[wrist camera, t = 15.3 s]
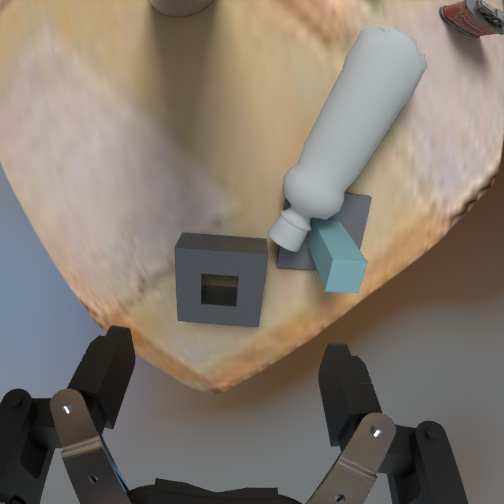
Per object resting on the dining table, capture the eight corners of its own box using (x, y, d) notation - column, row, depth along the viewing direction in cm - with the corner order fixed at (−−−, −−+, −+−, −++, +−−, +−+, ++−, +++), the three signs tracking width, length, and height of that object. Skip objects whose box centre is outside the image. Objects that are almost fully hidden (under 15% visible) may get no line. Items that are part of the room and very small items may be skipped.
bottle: (352, 14, 28) (239, 215, 40) (413, 25, 22) (278, 259, 34) (387, 53, 34) (287, 226, 46) (441, 71, 28) (326, 265, 40)
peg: (312, 218, 43) (333, 259, 32) (339, 221, 43) (367, 262, 32) (307, 244, 45) (325, 291, 34) (334, 247, 45) (358, 293, 34)
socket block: (182, 232, 45) (174, 247, 40) (266, 238, 45) (267, 254, 41) (183, 301, 50) (177, 320, 45) (257, 307, 50) (258, 327, 46)
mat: (287, 185, 42) (287, 187, 41) (369, 196, 42) (371, 197, 41) (276, 264, 47) (277, 267, 46) (352, 269, 47) (353, 272, 47)
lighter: (478, 25, 29) (518, 19, 20) (477, 42, 30) (518, 38, 21) (439, 2, 28) (477, -12, 19) (438, 19, 29) (477, 7, 20)
